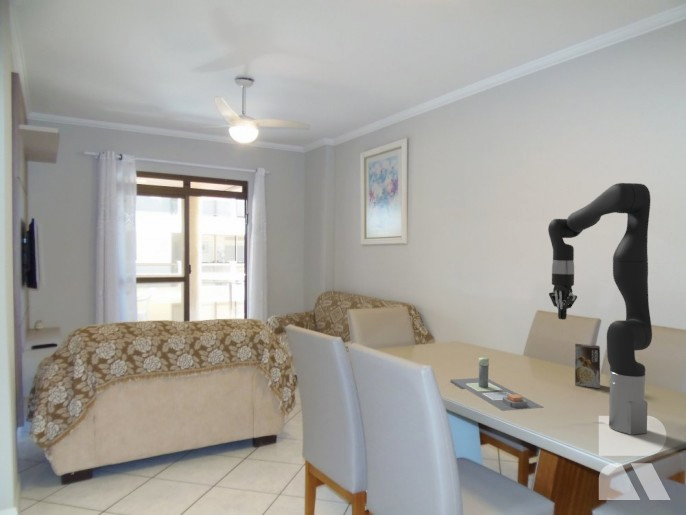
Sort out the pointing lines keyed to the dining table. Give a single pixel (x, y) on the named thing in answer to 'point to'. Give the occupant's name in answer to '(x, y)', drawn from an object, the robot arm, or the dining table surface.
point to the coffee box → (587, 365)
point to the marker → (483, 372)
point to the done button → (514, 398)
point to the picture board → (495, 394)
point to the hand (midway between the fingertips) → (562, 319)
